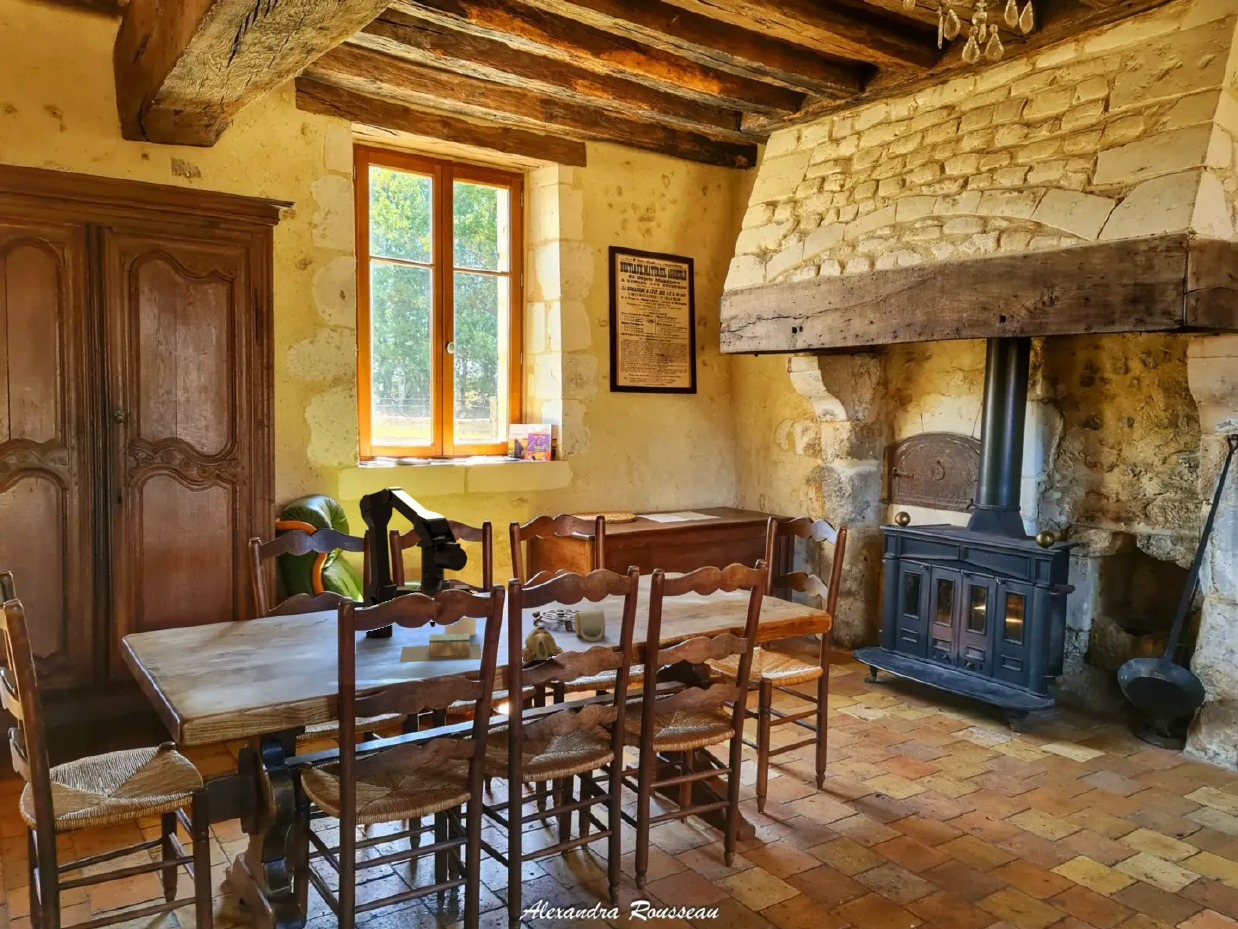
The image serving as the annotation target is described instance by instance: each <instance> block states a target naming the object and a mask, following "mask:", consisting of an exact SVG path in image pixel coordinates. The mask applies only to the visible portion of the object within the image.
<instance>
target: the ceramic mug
mask: <svg viewBox="0 0 1238 929" xmlns="http://www.w3.org/2000/svg"><path fill="white" fill-rule="evenodd" d="M574 629H575V634H576V636H578V637H581V638H583V639H584V640H586V641H587V642H598V641H600V640H601V639H602V637H604V636H605V634H606V617H605V613H604V610H603V609H601V608H599V609H598V608H597V609H593V610H592V609H591V610H582V611H579V612H576V613H575V614H574Z"/></svg>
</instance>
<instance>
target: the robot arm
mask: <svg viewBox="0 0 1238 929" xmlns="http://www.w3.org/2000/svg"><path fill="white" fill-rule="evenodd" d="M358 506H359V510H360V516H361V519H362V520H363V523H365V524H366V526H367V528H368V530H367V532H368V542H369V543H368V544H369V556H370V557H369V560H370V562H369V563H370V576H371V577H370V578H371V581H370V582H369V584H368V586H367V589H366V591H365V600H364V602H362V603H363V604H362V605H361V606H360V608H361V607H370V606H373V605H376V604H380V603H382V602H385V601H389V600H392V599H393V598H395V597H398V596H401V595H407V594H410V593H414V592H421V593H423V594H425V595H430V596H434V595H436V594H437V593H438V592H439V591H441V590H442V589H451V582H450V581H451V580H450V579H445V570H450V571H454V572H459V571H461V570H463V569H464V568H465V567H466V565H467V562H468V555H467V553H466V550H464V549H463V548H461V543H460V542H457V540H456V538H455V535H454V533H453V531H452V529H451V526H450V524H449V522H448V519H447V517H445V516H443V515H442V514H440V513H437V512H434V511H431V510H430V511H429V510H427V509H425V507H424V506H422V505H421V504H420V503H419V502H417V501H416V500H415V499H414V498H412V497H411V496H410V495H409V494H408V493H406V492H405V490H404V488H403V487H401V486H392V487H385V488H383V489H381V490H380V491H376V492H373V493H368V494H364V495H363V496H362V497H361V498H360V500H359V505H358ZM393 509H395V510H396V511H397V512H399V513H400V514H401V515H402V516H403V517H404V518H405V519H407V521H409V522H410V523H411V524H412V526H413V527H412V528H413V532H414V533H415V534H416V535H417V536H418V537H419V539H420V540H419V541H417V543H415V546H416V547H418V548H420V554H421V555H420V558H421V559H420V565H421V566H420V568H421V570H420V572H421V574H420V576H421V577H420V579H421V581H420V589H412V586H411V585H409V586H407V585H406V586H399V585H398V584H395V583H394V582H393V580H392V579H391V567H390V566H391V565H390V549H389V547H390V546H389V536H388V534H389V533H388V525H389V523H390V521H391V519H392V517H393V512H394V511H393ZM454 589H461V590H465V591H467V592H470V590H471V587H470V585H468V584H455V585H454ZM429 624H430V627H431V628H435V626H436V623H435V622H429ZM393 627H394V624H393V625H390V626H387V627H384V628H380V629H377V630H373V631H368V632H366V631H365V638H366V639H373V640H374V639H375V640H378V639H385V638H392V637H393V633H394V628H393Z"/></svg>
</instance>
